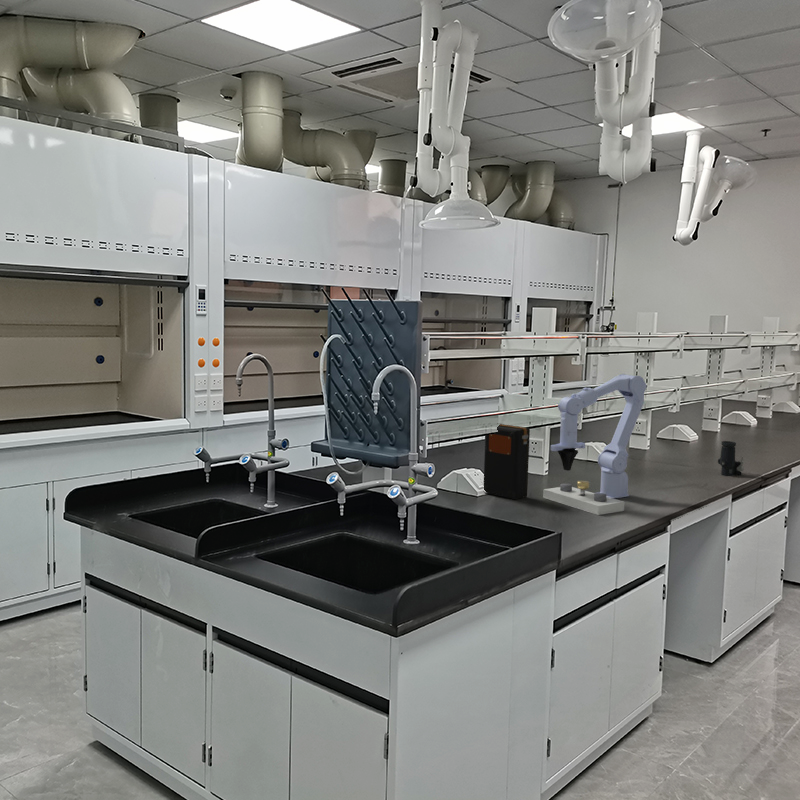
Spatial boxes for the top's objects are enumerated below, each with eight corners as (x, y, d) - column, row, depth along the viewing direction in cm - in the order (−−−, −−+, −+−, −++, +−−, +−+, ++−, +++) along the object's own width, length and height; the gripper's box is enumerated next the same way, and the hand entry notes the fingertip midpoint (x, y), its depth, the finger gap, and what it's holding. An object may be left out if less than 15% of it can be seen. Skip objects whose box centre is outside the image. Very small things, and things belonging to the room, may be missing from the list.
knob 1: (565, 496, 261) (566, 483, 261) (573, 499, 258) (574, 485, 257) (557, 497, 259) (558, 484, 258) (565, 500, 256) (566, 486, 255)
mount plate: (568, 494, 266) (568, 485, 265) (623, 510, 244) (624, 501, 243) (543, 497, 260) (543, 489, 259) (598, 515, 237) (598, 505, 237)
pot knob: (582, 494, 254) (583, 480, 253) (591, 496, 251) (591, 482, 250) (574, 495, 252) (574, 481, 251) (582, 497, 249) (583, 483, 248)
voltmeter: (529, 497, 260) (532, 427, 257) (515, 501, 253) (518, 429, 251) (494, 489, 270) (496, 422, 268) (479, 493, 264) (482, 424, 262)
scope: (746, 442, 305) (733, 444, 299) (743, 475, 306) (731, 477, 300) (727, 439, 311) (714, 441, 305) (724, 471, 313) (712, 474, 306)
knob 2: (599, 506, 248) (600, 492, 247) (608, 509, 244) (609, 495, 244) (591, 508, 245) (591, 493, 245) (599, 510, 242) (600, 496, 242)
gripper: (561, 434, 249) (559, 474, 250) (592, 431, 256) (590, 470, 258) (547, 431, 255) (545, 470, 256) (577, 429, 262) (575, 466, 264)
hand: (567, 470), depth 257 cm, fingers closed
